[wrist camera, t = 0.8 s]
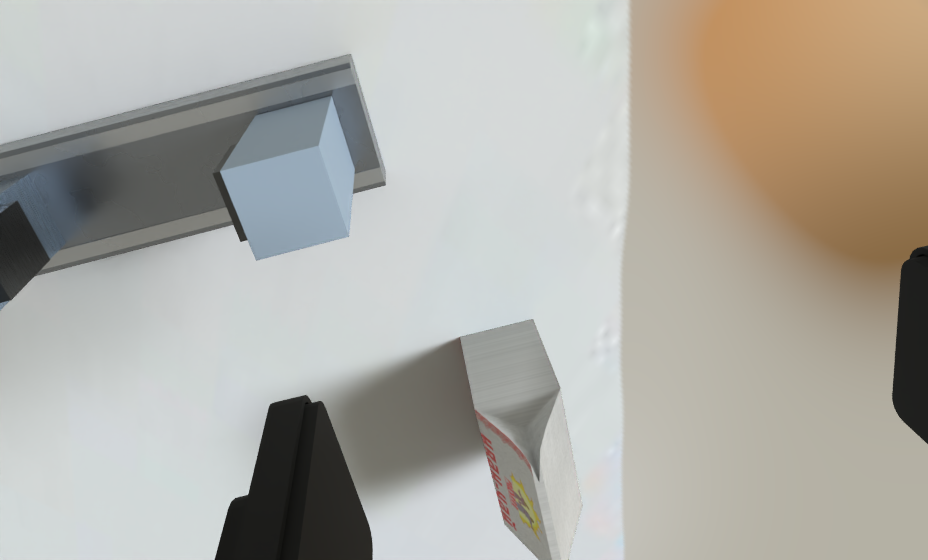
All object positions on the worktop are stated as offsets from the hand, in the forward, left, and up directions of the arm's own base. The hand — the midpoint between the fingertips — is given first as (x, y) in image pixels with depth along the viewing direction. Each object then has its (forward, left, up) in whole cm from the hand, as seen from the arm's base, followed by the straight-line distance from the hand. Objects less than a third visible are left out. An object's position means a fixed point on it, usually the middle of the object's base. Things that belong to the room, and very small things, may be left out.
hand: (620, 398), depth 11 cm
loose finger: (-1, -7, -19) cm, 20 cm away
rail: (-1, -13, -21) cm, 25 cm away
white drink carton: (+14, -1, -21) cm, 26 cm away
